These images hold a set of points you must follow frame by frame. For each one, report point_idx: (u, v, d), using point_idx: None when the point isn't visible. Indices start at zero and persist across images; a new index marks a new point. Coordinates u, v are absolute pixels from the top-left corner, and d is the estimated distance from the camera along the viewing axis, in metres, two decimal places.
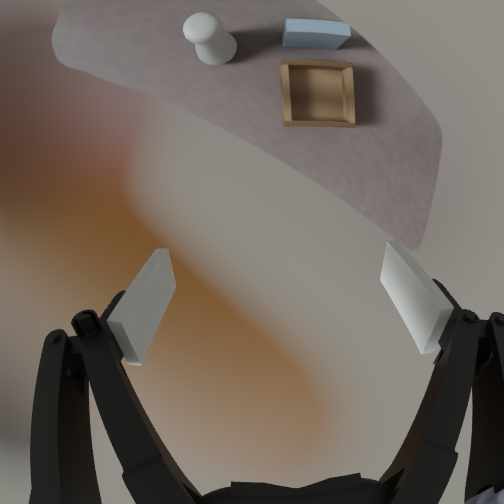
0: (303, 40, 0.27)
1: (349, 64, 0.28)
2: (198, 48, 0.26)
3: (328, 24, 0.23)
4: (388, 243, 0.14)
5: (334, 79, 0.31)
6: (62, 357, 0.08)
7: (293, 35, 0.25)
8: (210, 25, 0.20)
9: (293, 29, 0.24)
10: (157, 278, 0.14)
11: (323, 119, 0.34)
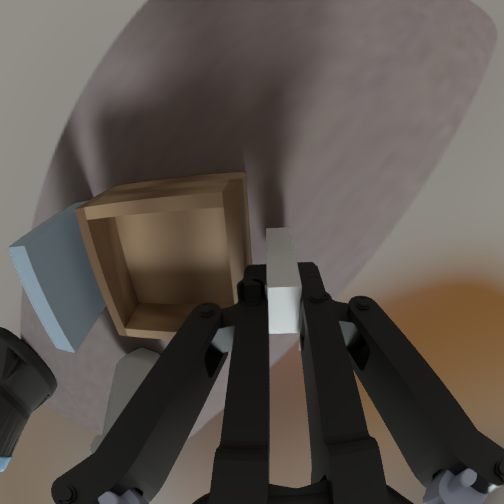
0: (86, 291, 0.17)
1: (78, 214, 0.13)
2: None
3: (28, 288, 0.12)
4: (277, 230, 0.17)
5: (132, 217, 0.16)
6: (207, 337, 0.09)
7: (80, 327, 0.15)
8: None
9: (68, 345, 0.14)
10: None
11: None
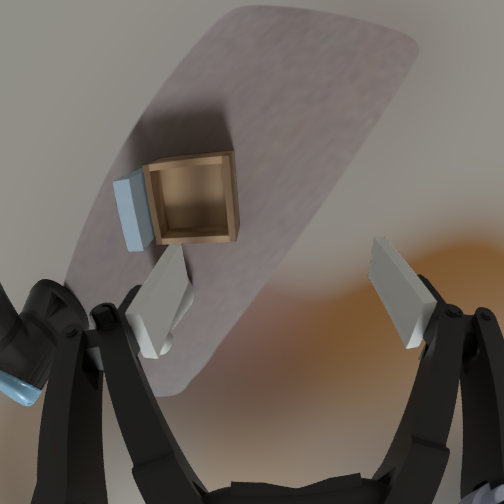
0: None
1: (144, 168, 0.27)
2: None
3: (122, 206, 0.26)
4: (375, 239, 0.15)
5: (171, 174, 0.30)
6: (77, 352, 0.08)
7: (147, 237, 0.29)
8: None
9: (140, 245, 0.28)
10: (172, 273, 0.14)
11: None
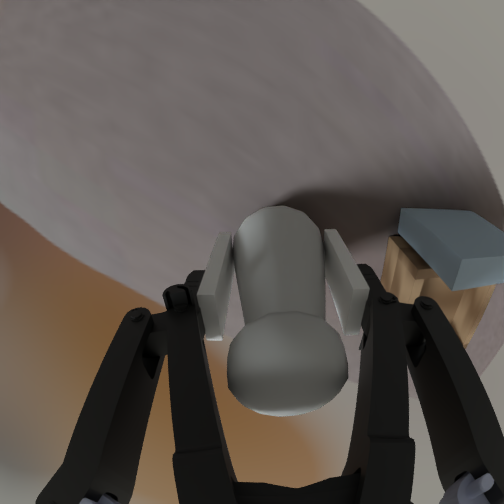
0: None
1: None
2: None
3: None
4: (325, 231, 0.16)
5: None
6: (140, 339, 0.09)
7: None
8: (320, 400, 0.08)
9: (461, 286, 0.11)
10: (227, 258, 0.15)
11: None
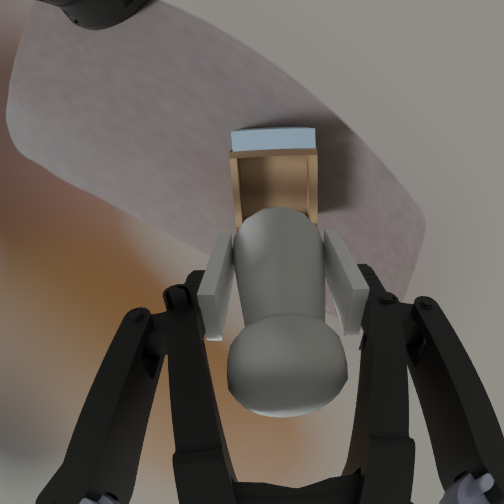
0: None
1: (314, 150, 0.27)
2: None
3: (286, 134, 0.24)
4: (325, 231, 0.16)
5: (297, 163, 0.31)
6: (140, 339, 0.09)
7: None
8: (319, 401, 0.08)
9: (239, 148, 0.25)
10: (227, 258, 0.15)
11: None
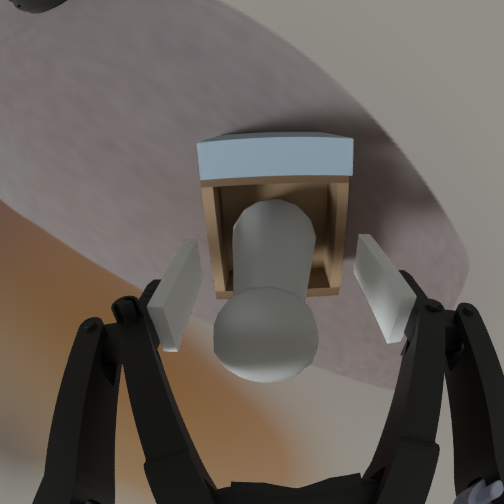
0: None
1: None
2: None
3: (300, 147, 0.13)
4: (359, 236, 0.15)
5: (312, 192, 0.20)
6: (96, 347, 0.08)
7: None
8: (291, 367, 0.10)
9: (212, 174, 0.14)
10: (189, 267, 0.14)
11: None
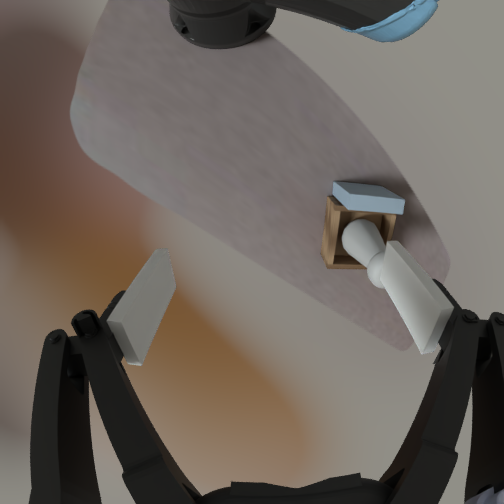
0: None
1: None
2: (360, 261, 0.33)
3: (386, 202, 0.31)
4: (388, 243, 0.14)
5: (375, 217, 0.38)
6: (62, 357, 0.08)
7: None
8: None
9: (353, 208, 0.31)
10: (157, 278, 0.14)
11: None
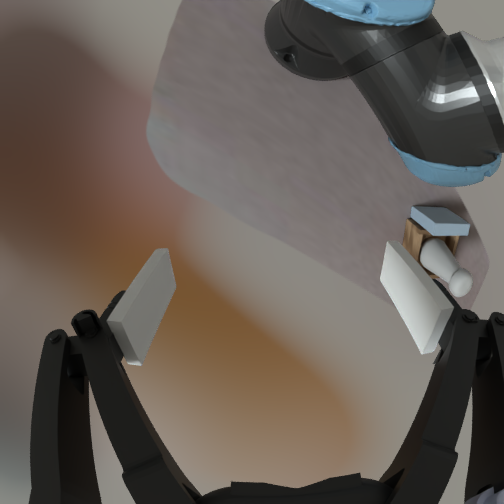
0: None
1: None
2: (438, 275, 0.35)
3: (458, 227, 0.33)
4: (388, 243, 0.14)
5: None
6: (62, 357, 0.08)
7: None
8: (469, 288, 0.30)
9: (436, 234, 0.34)
10: (157, 278, 0.14)
11: None
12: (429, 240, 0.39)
